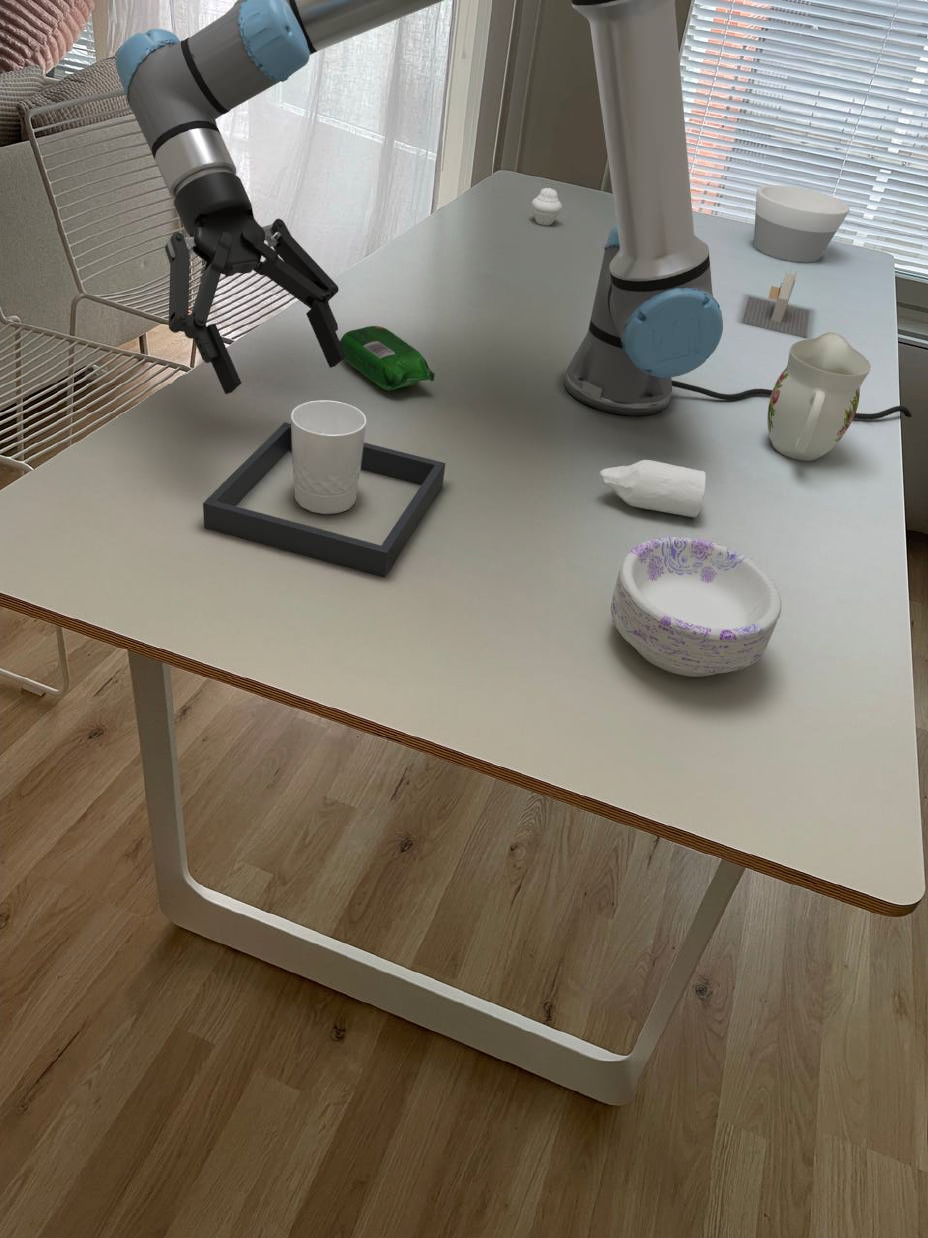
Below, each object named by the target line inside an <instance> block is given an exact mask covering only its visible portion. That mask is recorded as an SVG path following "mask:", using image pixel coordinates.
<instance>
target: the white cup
mask: <svg viewBox="0 0 928 1238" xmlns="http://www.w3.org/2000/svg"><path fill="white" fill-rule="evenodd" d="M290 424H291V439H292V451H291V458H292V475H293V480H294V482H293V483H294V500H295V501H296V503H297V504H298V505H299V506H300V507H301V508H303V509H305V510H307V511H309V512H312V513H315V514H316V513H317V514H321V515H334V514H335V515H336V514H340V513H343V512H345V511H348V510H350V509H351V508H352V507H353V506H354V505H355V504H356V501H357V491H358V483H359V480H360V476H361V471H362V469H361V463H362V455H363V446H364V442H365V438H366V428H367V417H366V415H365V413H364V412H363V411H362V410H360V409H359V408H357V407H356V406H354V405H351V404H349V403H345V402H341V401H336V400H328V399H327V400H326V399H321V400H311V401H307V402H304V403H301V404H298V405H297V406H295V407H294V408H293V409H292V410H291V413H290Z"/></svg>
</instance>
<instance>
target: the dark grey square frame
mask: <svg viewBox="0 0 928 1238" xmlns="http://www.w3.org/2000/svg"><path fill="white" fill-rule="evenodd" d="M288 451H291V452H292V439H291V422H290V423H289V422H286V421H284V422H283V423H282V424H281V425H280V426H279V427H278V428H277V429H276V430H275V431H274V432H273V433H272V434H271V435H270V436H268V438H267V439H266V440H265V441H264V442H263V443H261V445H260V446H259V447H258V448H257V449H256V450H255V451H254V452H253V453H252V454H251V455H250V456H249V457H248V458H247V459H245V461H244V462H242V463H241V465H240V466H238V468H237V469H235V471H233V473H232V474H230V476H229V477H227V478H226V479H225V481H223V483H221V485H219V486H218V487H217V488H216V489H215V490H214V491H213V493H211V494H210V495H209V496H208V498H206V499H205V500H204V501H203V502H202V512H203V514H202V515H203V527H204V528H206V529H210V530H213V531H216V532H221V533H225V534H227V535H231V536H235V537H239V538H243V539H245V540H250V541H253V542H257V543H260V544H264V545H268V546H271V547H275V548H278V549H283V550H286V551H290V552H292V553H297V554H300V555H304V556H308V557H311V558H315V559H318V560H322V561H325V562H330V563H333V564H337V565H340V566H344V567H347V568H351V569H355V570H359V571H362V572H366V573H370V574H372V575H373V574H374V575H377V576H380V577H384V578H385V577H386V576H387V575H388V573H389V571H390V569H391V568H392V566H393V565H394V564H395V562H396V560H397V559H398V557H399V556H400V554H401V552H402V551H403V549H404V548H405V546H406V544H407V543H408V541H409V539H410V538H411V536H412V535H413V533H414V532H415V530H416V528H417V527H418V525H419V523H421V521H422V519H423V518H424V516H425V514H426V513H427V511H428V509H429V508H430V506H431V505H432V503H433V502H434V500H435V498H436V497H437V495H438V493H439V492H440V490H442V487H443V485H444V480H445V479H444V478H445V472H446V471H445V470H446V462H442V461H440V460H435V459H431V458H427V457H423V456H420V455H415V454H411V453H407V452H403V451H400V450H395V449H392V448H388V447H384V446H380V445H376V444H372V443H369V442H365V441H364V446H363V455H362V463H361V470H365V471H369V472H373V473H375V474H382V475H384V476H389V477H392V478H396V479H400V480H402V481H403V480H404V481H408V482H412V483H416V484H419V485H421V486H420V487H419V489H418V490H416V491H417V492H416V493H415V494H414V495H413V497H412V499H411V500H410V501H409V504H408V505H407V507H406V508H405V510H404V511H403V513H402V514H401V516H399V518H398V520H397V521H396V523H395V525H394V526H393V527H392V529H391V531H389V533H388V535H387V536H386V538H385V540H383V542H382V544H377V543H374V542H369V541H366V540H362V539H359V538H355V537H351V536H348V535H344V534H340V533H337V532H332V531H329V530H325V529H321V528H317V527H314V526H311V525H307V524H304V523H303V524H302V523H299V522H296V521H292V520H288V519H284V518H280V517H278V516H273V515H270V514H266V513H263V512H258V511H255V510H251V509H247V508H243V507H240V506H237V504H238V503H239V502H240V501H241V500H242V499H243V498H244V497H245V496H246V495H247V494H248V493H249V492H250V491H251V490H252V489H253V488H254V487H255V486H256V485H257V483H258V482H260V480H261V479H262V478H263V477H264V476H265V475H266V474H267V473H268V472H269V471H270V470H271V469H272V468H273V466H274V465H275V464H277V462H278V461H279V460H280V459H282V457H283V456H284V455H285V454H286V453H287V452H288Z"/></svg>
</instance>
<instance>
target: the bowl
mask: <svg viewBox="0 0 928 1238" xmlns="http://www.w3.org/2000/svg"><path fill="white" fill-rule="evenodd" d="M754 211H755V212H754V213H755V216H754V231H753V232H754V234H753V247H754V248H755V249H756V250H758V251H759V252H760V253H763V254H765V255H766V256H769V257H772V258H775V259H779V260H782V261H788V262H794V263H805V264H807V263H814V262H818V261H819V260H820V259H821V258H822V255H823V254H824V253H825V251H826V249H827V247H828V246H829V244H830V243H831V241H832V239H833V238H834V236H835V235H836V233H837V231H838V230H839V229H840V227H841V225H842V224H843V223H844V221H845V219H846V217H847V216H848V214H849V212H850V211H851V210H850V206H849V205H848V204H847V203H846V202H845V201H842V200H841V199H839V198H836V197H835V196H831V195H830V194H826V193H823V192H820V191H816V190H813V189H807V188H804V187H803V188H802V187H799V186H791V185H780V184H775V185H774V184H770V185H762V186H759V187H758V188H757V189H756V195H755V210H754Z"/></svg>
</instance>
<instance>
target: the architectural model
mask: <svg viewBox="0 0 928 1238" xmlns="http://www.w3.org/2000/svg"><path fill="white" fill-rule="evenodd" d="M797 273H798V271H795V272H794V273H790V272H785V274H784V277H783V280H782V282H781V283H780V286H779V287H778V286H774V285H771V287H770V289H769V294H768V298H767V299H768V300H767V299H762V298H758V297H753V296H749V295H748V299H747V303H746V306H745V308H744V309H745V310H744V314H743V316H742V322H741V323H743V324H747V325H751V326H755V327H760V328H764V329H768V330H771V331H776V332H780V333H784V334H789V335H792V336H798V337H802V338H806V339H808V330H809V323H810V322H809V321H810V312H811V310H810V309H806V308H802V307H798V306H792V305H788V304H789V301H790V298H791V295H792V292H793V289H794V286H795V283H796V281H797V279H796V278H797Z"/></svg>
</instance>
